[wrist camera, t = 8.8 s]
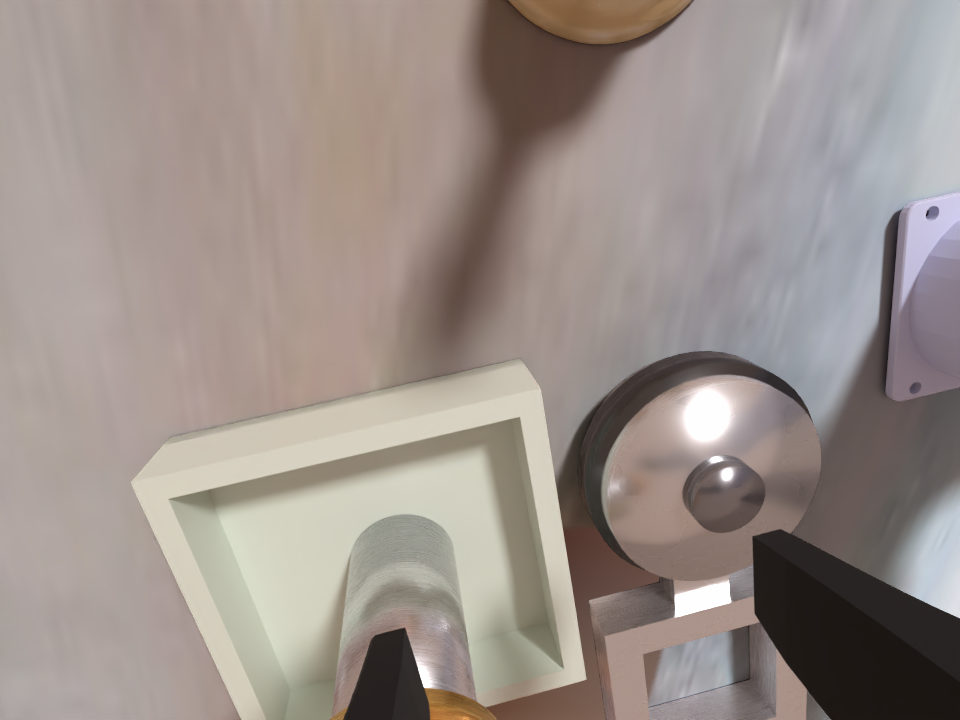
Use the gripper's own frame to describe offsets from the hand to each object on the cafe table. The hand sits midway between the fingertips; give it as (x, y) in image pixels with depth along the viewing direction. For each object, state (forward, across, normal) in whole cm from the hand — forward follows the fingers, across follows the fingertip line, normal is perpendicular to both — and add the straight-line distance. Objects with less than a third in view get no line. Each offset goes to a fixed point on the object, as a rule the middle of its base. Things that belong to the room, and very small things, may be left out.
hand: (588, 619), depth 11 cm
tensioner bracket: (+10, -7, +9) cm, 15 cm away
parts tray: (+10, +5, +4) cm, 12 cm away
